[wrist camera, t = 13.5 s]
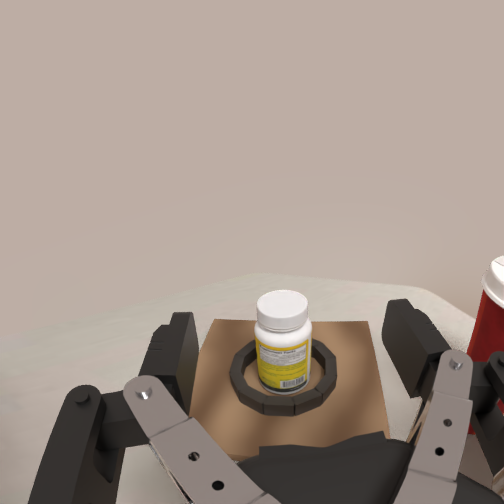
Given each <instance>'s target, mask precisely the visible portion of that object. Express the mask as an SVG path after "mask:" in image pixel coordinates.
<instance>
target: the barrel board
mask: <svg viewBox="0 0 504 504" xmlns="http://www.w3.org/2000/svg"><path fill="white" fill-rule="evenodd" d="M256 322H257V321H250V320H225V319H214V321H213V323H212V325H211V328H210V330H209V332H208V334H207V336H206V339H205V341H204V343H203V345H202V348H201V350H200V352H199V356H198V362H197V368H196V375H195V381H194V387H193V393H192V400H191V406H190V413H189V418H190V417H194V418H195V419H196V420H197V421H198V422H199V424H200V425H201V426H202V427H203V428H204V429H205V431H206V432H207V433H208V434H209V435H210V436H211V437H212V439H213V440H214V441H215V442H216V443H217V444H218V445H219V446H220V448H221V449H222V450H223V451H224V452H225V453H226V454H227V455H228V456H229V457H230V458H231V459H232V460H235V461H242V460H244V459H247V458H249V457H252V456H256V455H259V446H274V445H288V444H293V445H302V446H312V447H328V446H331V445H333V444H336V443H339V442H341V441H344V440H346V439H349V438H351V437H354V436H358V435H363V434H368V433H373V432H378V431H384V434H385V437H386V439H390V433H389V426H388V420H387V414H386V408H385V402H384V396H383V391H382V386H381V380H380V375H379V370H378V365H377V361H376V356H375V351H374V347H373V342H372V338H371V333H370V329H369V325H368V321H348V322H311V324H312V346H311V373H310V379H309V382H308V383H307V385H306V386H305V387H304V388H303V389H302V390H300V391H298V392H296V393H293V394H288V395H280V394H275V393H272V392H269V391H268V390H266V389H265V388H264V387H263V386H262V385H261V383H260V381H259V374H258V364H257V354H256V344H255V334H254V327H255V324H256Z"/></svg>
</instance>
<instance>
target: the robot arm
mask: <svg viewBox="0 0 504 504" xmlns="http://www.w3.org/2000/svg"><path fill="white" fill-rule="evenodd" d="M382 341H383V344H384V346H385V348H386V350H387V352H388V354H389V356H390V358H391V360H392V362H393V364H394V366H395V368H396V370H397V372H398V374H399V376H400V378H401V380H402V382H403V384H404V386H405V388H406V390H407V392H408V394H409V396H410V398H415V397H419V396H421V398H422V401H421V404H420V406H419V409H418V412H417V415H416V417H415V420H414V423H413V426H412V428H411V431H410V434H409V436H408V438H407V441H406V442H404V441H401V440H396V439H386V437H385V434H384V431H378V432H373V433H368V434H363V435H358V436H354V437H351V438H349V439H346V440H344V441H341V442H339V443H336V444H333V445H331V446H328V447H312V446H302V445H293V444H288V445H274V446H259V455H256V456H252V457H249V458H247V459H244V460H242V461H240V462H238V463H237V464H235V463H234V462H233V461H232V459H231V458H230V457H229V456H228V455H227V454H226V453H225V452H224V451H223V450H222V449H221V448H220V446H219V445H218V444H217V443H216V442H215V441H214V440H213V439H212V437H211V436H210V435H209V434H208V433H207V432H206V431H205V429H204V428H203V427H202V426H201V425H200V424H199V422H198V421H197V420H196V419H195V418H194V417H190V418H189V413H190V406H191V400H192V393H193V387H194V381H195V375H196V368H197V362H198V356H199V345H198V338H197V333H196V327H195V321H194V316H193V313H192V312H174V313H173V315H172V318H171V321H170V324H169V325H161V326H160V327H159V328H158V329H157V330H156V331H155V332H154V333H153V336H152V339H151V341H150V342H151V343H150V344H149V347H148V351H147V352H146V355H145V358H144V361H143V364H142V366H141V369H140V372H139V375H138V377H135V378H133V379H132V380H130V381H129V382H128V383H127V384H126V385H125V387H124V390H122V391H118V392H113V393H107V394H101V393H100V391H99V390H98V389H97V388H96V387H94V386H91V385H81V386H78V387H75V388H74V389H72V390H71V391H70V392H69V393H68V394H67V396H66V398H65V400H64V403H63V405H62V407H61V410H60V412H59V415H58V417H57V420H56V422H55V425H54V427H53V430H52V433H51V435H50V438H49V441H48V443H47V446H46V449H45V452H44V455H43V457H42V460H41V463H40V466H39V469H38V472H37V475H36V478H35V481H34V485H33V488H32V491H31V494H30V498H29V501H28V504H116V497H117V491H118V486H119V480H120V474H121V469H122V464H123V458H124V453H125V448H126V447H132V446H138V445H144V444H148V445H149V446H150V448H151V450H152V451H153V453H154V454H155V456H156V457H157V459H158V460H159V462H160V463H161V465H162V466H163V468H164V469H165V471H166V472H167V474H168V475H169V476H170V478H171V479H172V481H173V482H174V484H175V485H176V487H177V488H178V490H179V491H180V492H181V494H182V495H183V496H184V498H185V499H186V500H187V502H188V503H189V504H504V416H503V414H502V412H501V410H500V409H499V407H498V405H497V403H498V401H499V400H500V399H501V401H502V402H503V404H504V352H503V351H496V352H494V353H492V354H491V355H490V357H489V359H488V362H473V361H472V359H471V358H470V357H469V355H467V354H466V353H464V352H462V351H460V350H454V349H453V350H452V349H451V347H450V346H449V345H448V343H447V342H446V340H445V339H444V338H443V336H442V335H441V334H440V332H439V331H438V330H437V328H436V327H435V325H434V324H432V321H431V320H430V319H429V317H428V316H427V315H426V314H425V313H423V312H422V311H420V310H419V309H414V307H413V306H412V305H411V303H410V302H409V301H408V300H407V299H397V300H390V301H389V302H388V304H387V309H386V313H385V318H384V323H383V327H382ZM469 422H470V423H471V425H472V428H473V430H474V432H475V434H476V436H477V439H478V441H479V443H480V445H481V448H482V450H483V452H484V455H485V457H486V459H487V462H488V464H489V467H490V469H491V472H492V474H493V477H494V478H493V481H492V490H490V489H488V488H487V487H485V486H483V485H481V484H479V483H477V482H475V481H474V480H472V479H470V478H468V477H467V476H465V475H463V474H461V473H459V472H458V470H459V466H460V462H461V458H462V454H463V450H464V446H465V442H466V437H467V432H468V427H469Z"/></svg>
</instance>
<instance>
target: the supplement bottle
mask: <svg viewBox="0 0 504 504" xmlns="http://www.w3.org/2000/svg"><path fill="white" fill-rule="evenodd" d="M257 319H258V320H257V322H256V324H255V327H254V334H255V344H256V354H257V364H258V374H259V381H260V383H261V385H262V386H263V387H264V388H265V389H266V390H268V391H269V392H272V393H275V394H280V395H288V394H293V393H296V392H298V391H300V390H302V389H303V388H304V387H305V386H306V385H307V383H308V382H309V379H310V373H311V346H312V324H311V321H310V319H309V318H308V301H307V299H306V298H305V296H303V295H302V294H300V293H298V292H295V291H291V290H276V291H271V292H268V293H266V294H264V295H263V296H261V297H260V298H259V300H258V302H257Z"/></svg>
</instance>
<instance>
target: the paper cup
mask: <svg viewBox="0 0 504 504" xmlns="http://www.w3.org/2000/svg"><path fill="white" fill-rule="evenodd" d="M481 282H482V287H483V293H482V298H481V302H480V306H479V310H478V315H477V318H476V322H475V326H474V330H473V333H472V337H471V340H470V343H469V347H468V350H467V353H466V354H467V355H469V357H470V358H471V359H472V361H473V362H488V359H489V357H490V355H491V354H492V353H494V352H496V351H503V352H504V256H501V257H498V258H496V259H495V260H493V261H492V263H491V264H490V267H489V269H488V270H487V271H486V272H485V273H484V274H483V277H482V280H481ZM497 405H498V407H499V409H500V410H501V412H502V414H504V404H503V402H502V401H501V399H500V400H499V401H498V403H497ZM467 433H468V434H475V432H474V430H473V428H472V425H471V423H470V422H469V427H468V432H467Z"/></svg>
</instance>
